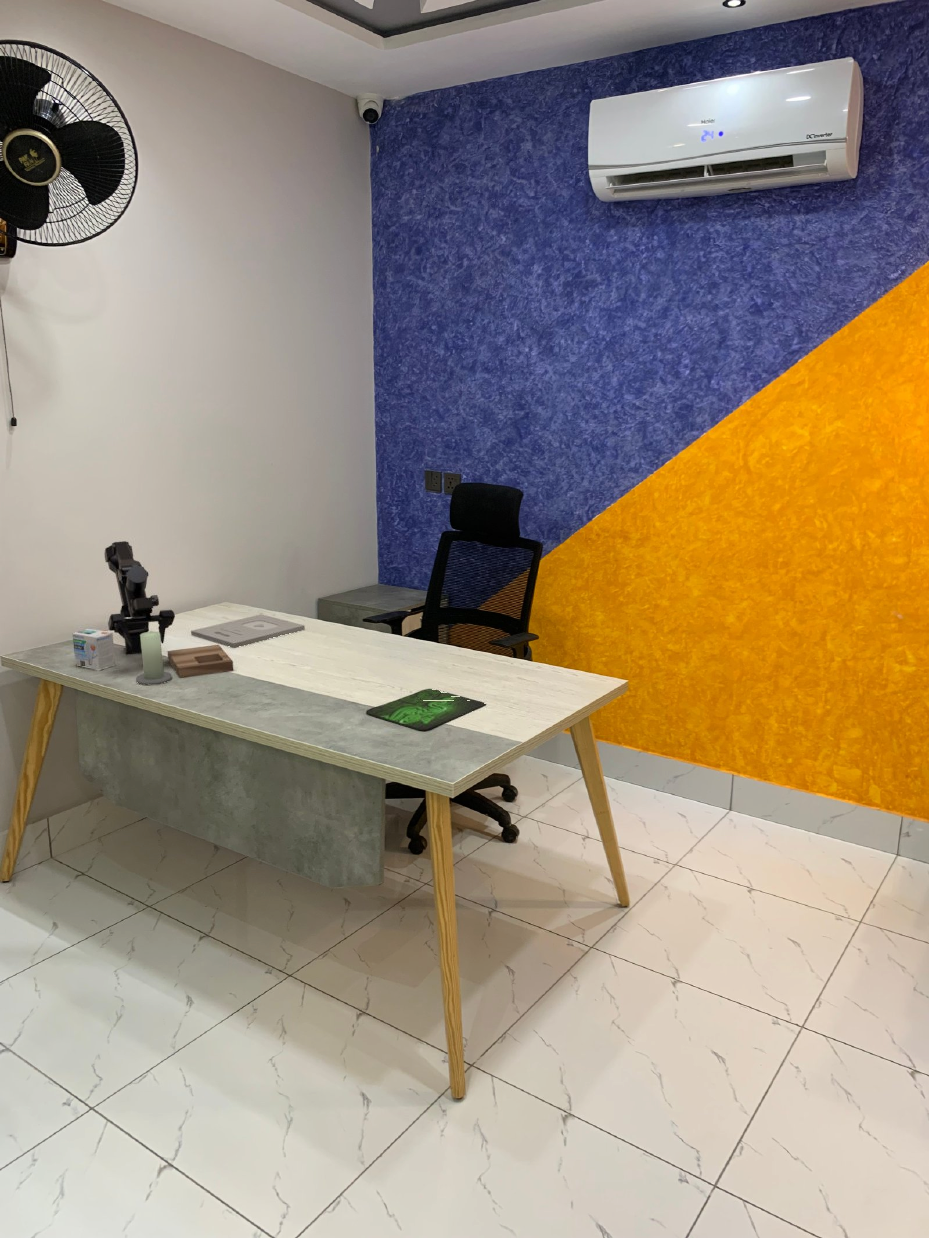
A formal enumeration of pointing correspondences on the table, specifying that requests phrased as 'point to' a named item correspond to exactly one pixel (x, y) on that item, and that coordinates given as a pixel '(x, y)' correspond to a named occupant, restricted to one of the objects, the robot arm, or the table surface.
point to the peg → (152, 655)
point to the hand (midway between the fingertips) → (147, 644)
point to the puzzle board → (200, 661)
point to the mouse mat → (425, 709)
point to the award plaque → (247, 630)
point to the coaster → (142, 680)
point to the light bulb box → (94, 648)
